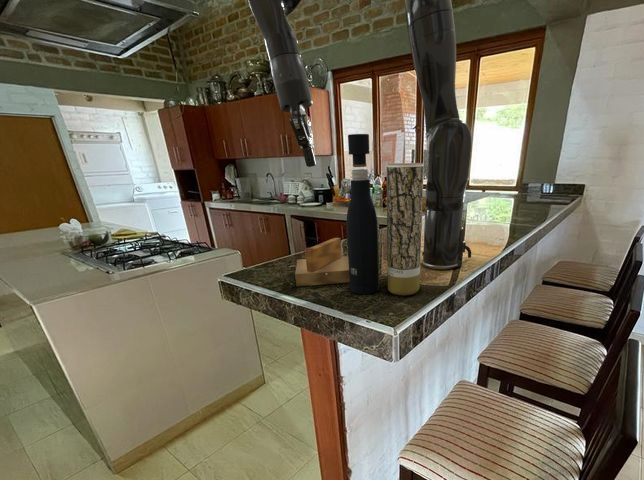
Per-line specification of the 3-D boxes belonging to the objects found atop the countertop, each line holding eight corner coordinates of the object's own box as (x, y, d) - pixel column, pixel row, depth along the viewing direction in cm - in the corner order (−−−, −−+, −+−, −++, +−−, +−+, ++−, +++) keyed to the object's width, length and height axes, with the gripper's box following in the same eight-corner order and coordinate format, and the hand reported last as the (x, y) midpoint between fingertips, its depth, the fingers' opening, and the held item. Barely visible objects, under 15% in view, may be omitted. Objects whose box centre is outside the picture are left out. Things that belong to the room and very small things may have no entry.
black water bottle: (380, 284, 76) (377, 134, 63) (377, 294, 70) (374, 132, 57) (352, 283, 77) (343, 136, 64) (347, 294, 71) (337, 134, 58)
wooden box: (357, 263, 91) (356, 252, 90) (365, 285, 76) (365, 271, 74) (293, 268, 89) (291, 256, 88) (288, 291, 74) (286, 277, 72)
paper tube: (410, 299, 68) (414, 163, 57) (381, 293, 71) (379, 164, 60) (424, 288, 73) (429, 162, 62) (396, 283, 76) (397, 163, 65)
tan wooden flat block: (336, 256, 87) (334, 236, 84) (341, 257, 86) (340, 236, 84) (307, 271, 76) (304, 248, 74) (312, 272, 75) (310, 249, 73)
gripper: (300, 70, 69) (322, 160, 75) (313, 88, 81) (330, 164, 87) (266, 79, 69) (290, 168, 75) (283, 95, 82) (302, 171, 88)
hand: (311, 166), depth 81 cm, fingers closed
